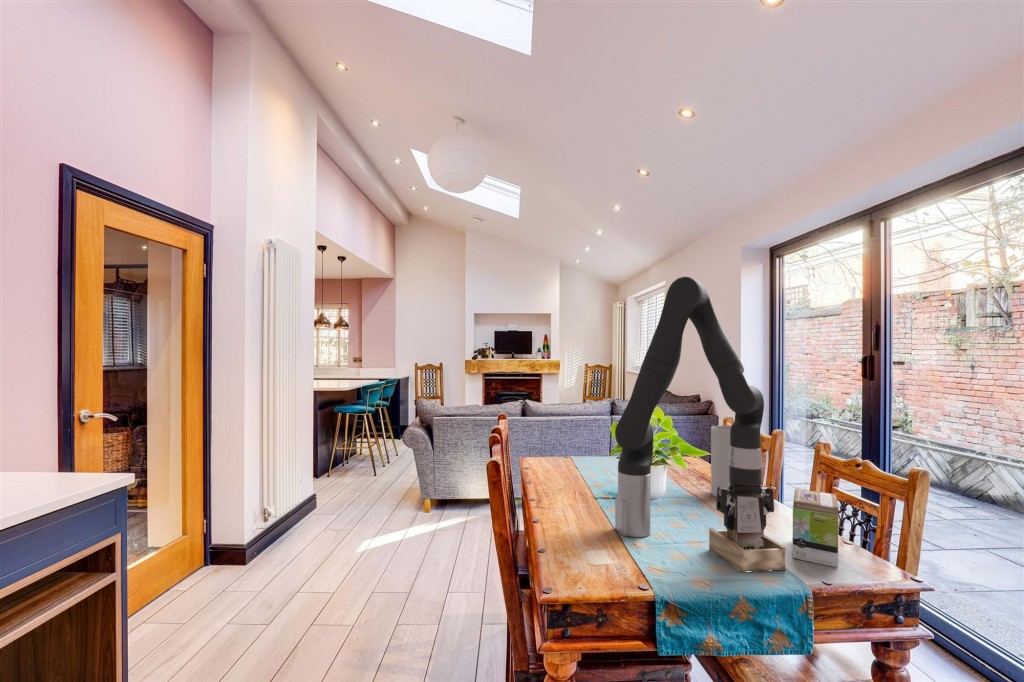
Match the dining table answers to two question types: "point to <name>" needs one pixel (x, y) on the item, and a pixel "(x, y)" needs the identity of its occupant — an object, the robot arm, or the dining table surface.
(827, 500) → the tea box
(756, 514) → the coffee box
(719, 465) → the cylinder vase
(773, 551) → the crate
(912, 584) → the dining table surface
